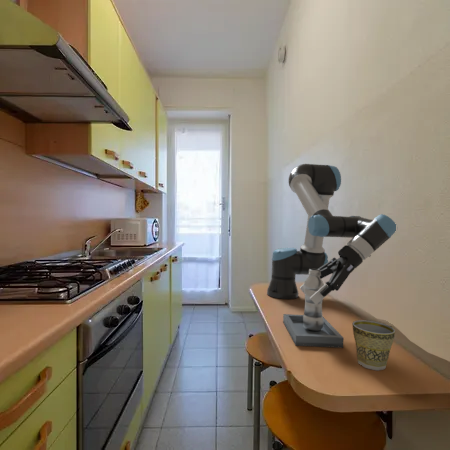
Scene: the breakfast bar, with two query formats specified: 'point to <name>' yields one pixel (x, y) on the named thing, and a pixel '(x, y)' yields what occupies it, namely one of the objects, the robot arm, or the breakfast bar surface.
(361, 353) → the ceramic cup
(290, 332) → the tray
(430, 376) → the breakfast bar surface
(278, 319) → the breakfast bar surface
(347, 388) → the breakfast bar surface
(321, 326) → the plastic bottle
